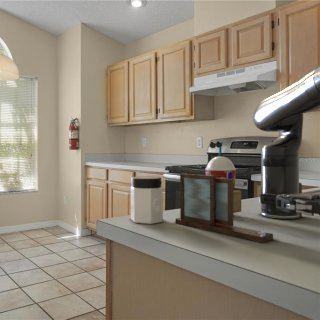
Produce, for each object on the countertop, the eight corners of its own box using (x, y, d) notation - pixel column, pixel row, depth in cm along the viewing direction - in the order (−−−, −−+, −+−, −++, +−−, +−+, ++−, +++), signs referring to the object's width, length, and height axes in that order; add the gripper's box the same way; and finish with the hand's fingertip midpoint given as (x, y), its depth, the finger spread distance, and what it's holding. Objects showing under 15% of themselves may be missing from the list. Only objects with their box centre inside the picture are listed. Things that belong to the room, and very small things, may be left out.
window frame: (273, 239, 71) (273, 178, 71) (262, 242, 69) (262, 179, 68) (186, 220, 90) (186, 172, 90) (175, 223, 88) (174, 173, 88)
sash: (241, 223, 79) (241, 178, 79) (231, 226, 77) (231, 179, 77) (208, 217, 87) (208, 176, 87) (198, 219, 85) (198, 176, 84)
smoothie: (242, 216, 95) (242, 146, 94) (217, 218, 93) (217, 147, 92) (223, 211, 103) (223, 146, 102) (199, 212, 101) (199, 147, 100)
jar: (145, 225, 86) (145, 179, 85) (124, 220, 92) (124, 177, 92) (169, 221, 91) (168, 177, 90) (147, 216, 97) (147, 175, 97)
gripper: (373, 186, 62) (277, 179, 77) (344, 192, 55) (244, 183, 70) (372, 225, 63) (277, 211, 77) (344, 236, 56) (244, 218, 70)
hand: (262, 198), depth 73 cm, fingers closed
